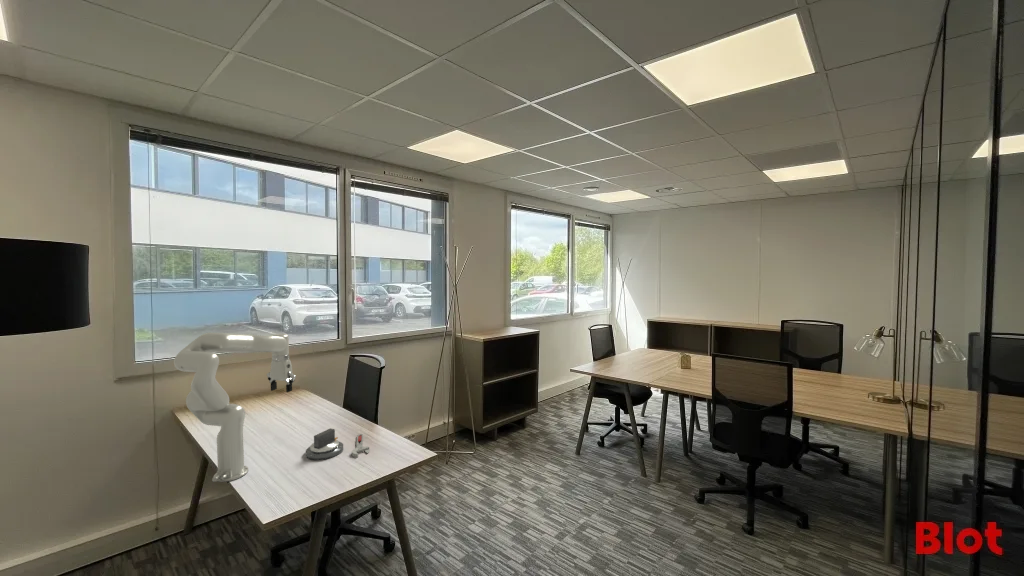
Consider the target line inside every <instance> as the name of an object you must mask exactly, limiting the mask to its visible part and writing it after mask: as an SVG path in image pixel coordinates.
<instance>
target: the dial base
mask: <svg viewBox="0 0 1024 576" xmlns="http://www.w3.org/2000/svg"><path fill="white" fill-rule="evenodd" d="M343 451H344V443H343V442H341V441H339V447H338V448H336V449H335V450H333V451H330V452H326V453H312V452H311V451H310V446H308V447H307V448H306V449H305V457H306V458H307V460H310V461H324V460H325V461H326V460H328V459H332V458H335V457H337V456H339V455H340V454H342V453H343Z"/></svg>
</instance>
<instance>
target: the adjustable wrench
mask: <svg viewBox="0 0 1024 576" xmlns="http://www.w3.org/2000/svg"><path fill="white" fill-rule="evenodd" d="M359 442H360V443H359ZM363 442H364V434H363V433H360V434H358V435H356V447H355V448H354V449H353V450H351V456H352V455H353V456H352V457H354V456H356V457H355V458H359V454H361V453H360V452H362V453H366V454H368V453H369V452H370V446H368V445H367V446H363ZM363 451H365V452H363ZM358 453H359V454H358Z"/></svg>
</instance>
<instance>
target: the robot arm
mask: <svg viewBox="0 0 1024 576" xmlns="http://www.w3.org/2000/svg"><path fill="white" fill-rule="evenodd" d="M289 339H290V337H289V335H288V334H287V333H275V334H273V335H261V334H260V335H259V334H252V333H251V334H249V333H233V332H206V333H203V334H201V335H199V336H198V337H196V338H195V339H194V340H192V341H191V342H190V343H189V344H188V345H186V346H185V347H184V348H182V349H181V350H180V351H179V352H178V353H177V354H176V355H175V357H174V359H173V365H174V368H175V369H176V370H177V371H181V372H185V373H186V372H187V373H188V372H189V373H190V372H191V373H194V375H193V378H192V380H191V384H190V391H189V393H188V394H187V395H186V398H185V405H186V407H187V409H188V410H189V411H190V412H191V413H192V414H193V416H194V417H196V419H198V421H200V423H202V424H203V425H205V426H214V427H220V430H219V431H218V433H217V436H216V454H217V456H216V457H217V458H216V459H217V470H216V473H215V474H214V475H213V477H212V479H211V481H212V482H217V483H224V482H225V483H226V482H231V481H234V480H237V479H239V478H242V477H243V476H245V475H247V474H248V472H249V467H248V466H247V465H245V453H244V452H245V450H244V423H245V418H246V411H245V410H246V409H245V408H244V407H243V406H242V405H240V404H236V403H230V396H229V394H228V393H227V391H226V390H225V389H224V388H223V387H222V386H221V384H220V383H219V382H218V380H217V378H216V374H217V371H218V368H219V365H220V358H219V357H220V356H218V355H217V354H216V353H220V354H223V353H224V354H225V353H226V354H229V353H230V354H231V353H236V354H237V353H243V354H244V353H248V354H249V353H251V354H252V353H253V354H254V353H271V362H270V371H269V372H267V373H266V376H267V380H268V381H269V384H270V391H271V392H272V391H275V390H277V389H278V388H277V387H278V383H277V381H282V382H283V381H284V382H285V383H286V385H285V390H286V391H285V392H286V393H289V392H292V391H293V383H294V382H295V381H296V377H297V376H296V374H294V373H293V365H292V362H291V359H290V358H291V357H290V348H289V347H290V346H289V343H290V342H289Z"/></svg>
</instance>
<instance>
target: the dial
mask: <svg viewBox="0 0 1024 576" xmlns="http://www.w3.org/2000/svg"><path fill="white" fill-rule="evenodd" d="M338 438H339V437H337V436H336V430H335V428H327V429H326V430H323V431H322V432H319V433H318V434H315V435H313V443H312V444H310V446H309V447H310V451H311V452H312V453H326V452H330V451H333V450H335V449H336V448H338V447H339V442H340V441H339V440H338Z"/></svg>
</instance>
